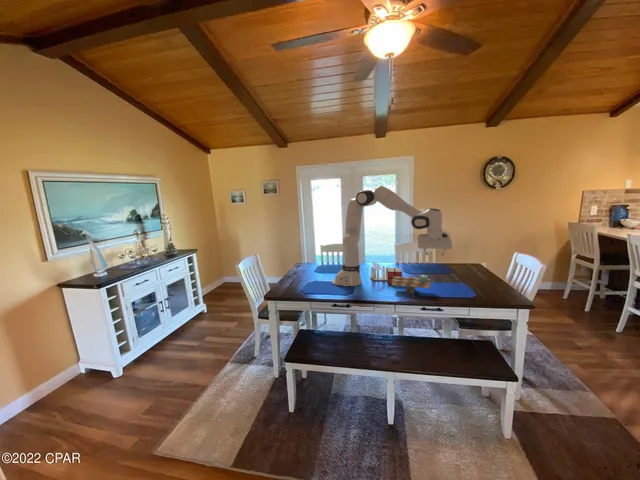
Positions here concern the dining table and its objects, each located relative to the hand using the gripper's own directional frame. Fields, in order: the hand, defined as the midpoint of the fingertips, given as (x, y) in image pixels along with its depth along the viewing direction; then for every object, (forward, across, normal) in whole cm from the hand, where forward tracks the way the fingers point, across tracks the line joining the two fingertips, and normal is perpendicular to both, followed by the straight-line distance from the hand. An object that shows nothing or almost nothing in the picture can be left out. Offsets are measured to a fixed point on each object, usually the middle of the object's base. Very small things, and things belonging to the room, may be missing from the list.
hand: (434, 255), depth 175 cm
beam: (+26, -15, -1) cm, 30 cm away
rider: (+19, -7, -1) cm, 20 cm away
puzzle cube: (+26, -29, +14) cm, 41 cm away
